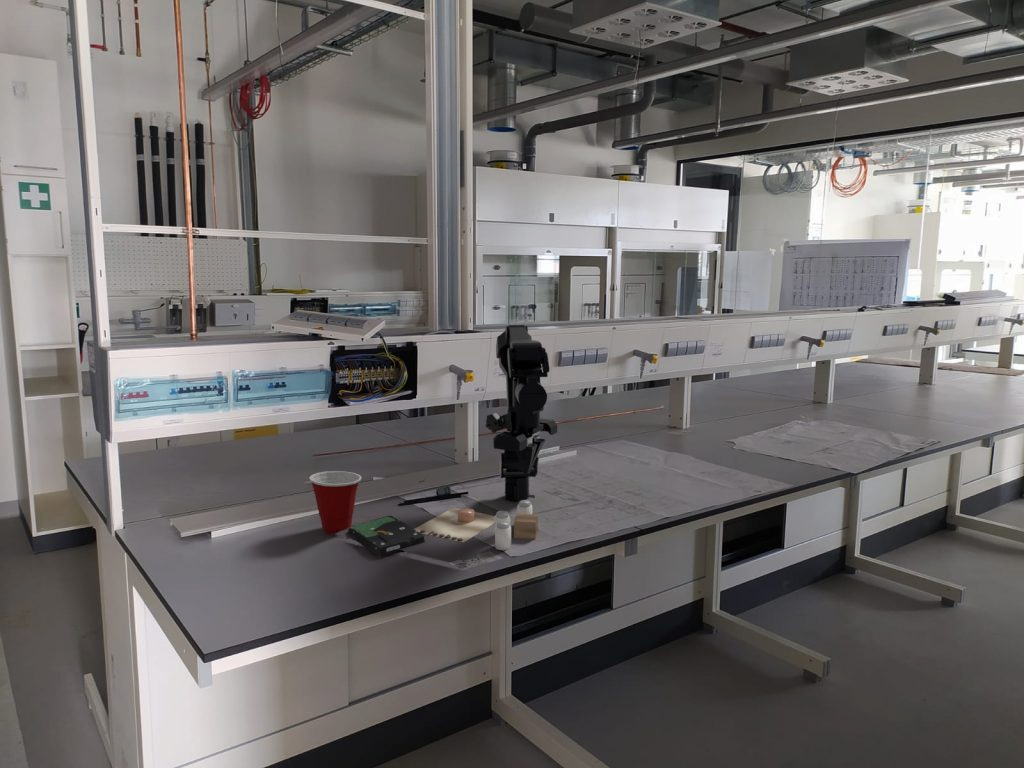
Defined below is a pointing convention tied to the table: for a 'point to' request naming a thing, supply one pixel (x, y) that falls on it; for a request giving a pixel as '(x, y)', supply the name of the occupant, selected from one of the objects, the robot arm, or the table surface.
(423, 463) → the table surface
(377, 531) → the disk drive
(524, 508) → the vial
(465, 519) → the puck
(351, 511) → the plastic cup
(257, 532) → the table surface
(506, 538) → the vial
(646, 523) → the table surface
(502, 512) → the vial
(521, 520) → the walnut block
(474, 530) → the beige flat board
